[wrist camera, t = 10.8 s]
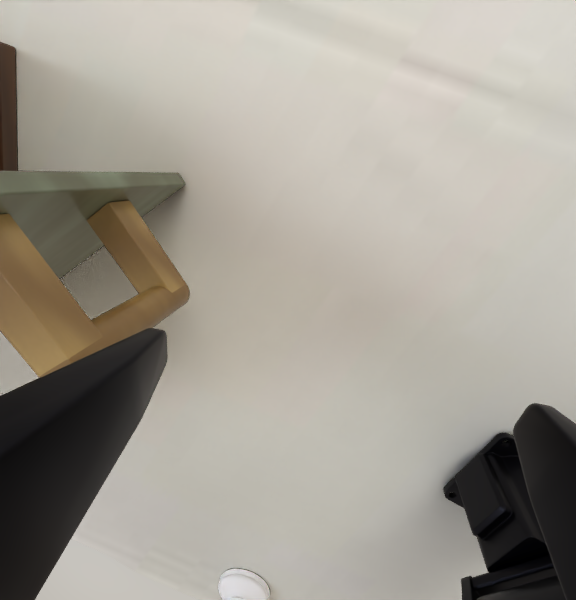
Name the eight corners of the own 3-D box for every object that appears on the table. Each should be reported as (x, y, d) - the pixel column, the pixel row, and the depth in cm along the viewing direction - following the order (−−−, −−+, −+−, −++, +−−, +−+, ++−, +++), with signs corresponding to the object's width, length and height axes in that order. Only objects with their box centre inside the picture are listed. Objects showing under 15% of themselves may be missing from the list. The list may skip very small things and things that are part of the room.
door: (239, 266, 22) (74, 393, 9) (78, 362, 27) (-168, 527, 14) (179, 172, 20) (-112, 168, 8) (22, 292, 26) (-302, 405, 13)
